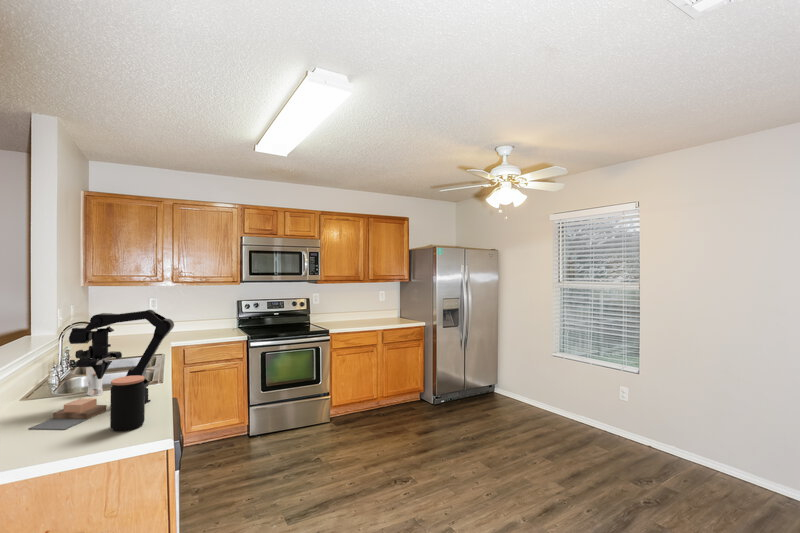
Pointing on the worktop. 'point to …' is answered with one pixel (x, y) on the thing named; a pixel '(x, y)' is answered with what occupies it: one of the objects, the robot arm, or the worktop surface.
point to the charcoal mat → (57, 424)
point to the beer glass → (93, 382)
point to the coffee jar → (127, 403)
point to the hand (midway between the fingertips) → (99, 378)
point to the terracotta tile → (80, 405)
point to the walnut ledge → (83, 415)
